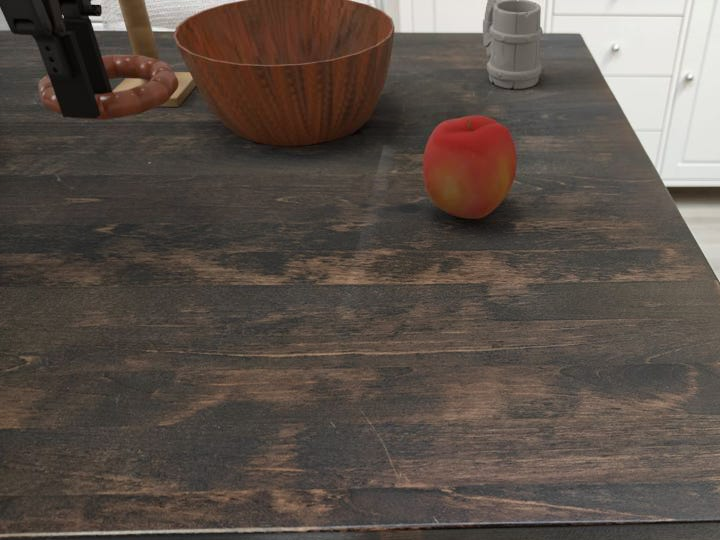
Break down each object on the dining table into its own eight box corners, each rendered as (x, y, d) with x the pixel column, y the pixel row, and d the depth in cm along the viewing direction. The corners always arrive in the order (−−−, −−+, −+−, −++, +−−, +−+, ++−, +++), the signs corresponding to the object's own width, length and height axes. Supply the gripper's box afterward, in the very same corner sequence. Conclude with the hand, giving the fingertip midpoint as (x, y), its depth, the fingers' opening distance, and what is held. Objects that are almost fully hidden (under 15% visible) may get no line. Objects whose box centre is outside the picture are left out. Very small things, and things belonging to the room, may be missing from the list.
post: (109, 105, 96) (66, -32, 86) (135, 79, 103) (98, -51, 92) (178, 107, 96) (144, -30, 86) (200, 81, 103) (170, -49, 92)
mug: (505, 94, 102) (509, 0, 94) (462, 66, 109) (463, -23, 101) (551, 84, 105) (558, -8, 97) (506, 57, 112) (510, -30, 104)
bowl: (193, 94, 99) (171, 3, 92) (376, 76, 106) (370, -11, 98) (201, 180, 82) (175, 76, 74) (421, 152, 88) (418, 53, 80)
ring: (20, 120, 61) (10, 96, 60) (77, 71, 69) (70, 49, 68) (153, 125, 61) (147, 101, 60) (195, 75, 69) (190, 53, 68)
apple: (533, 213, 78) (540, 121, 71) (468, 247, 73) (470, 152, 66) (468, 181, 83) (470, 92, 76) (404, 211, 78) (399, 119, 71)
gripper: (-40, -255, 40) (97, 151, 56) (81, -265, 52) (166, 75, 67) (-179, -261, 40) (-4, 148, 56) (-27, -269, 52) (83, 71, 67)
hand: (89, 107), depth 61 cm, fingers closed on ring, 2 cm apart
